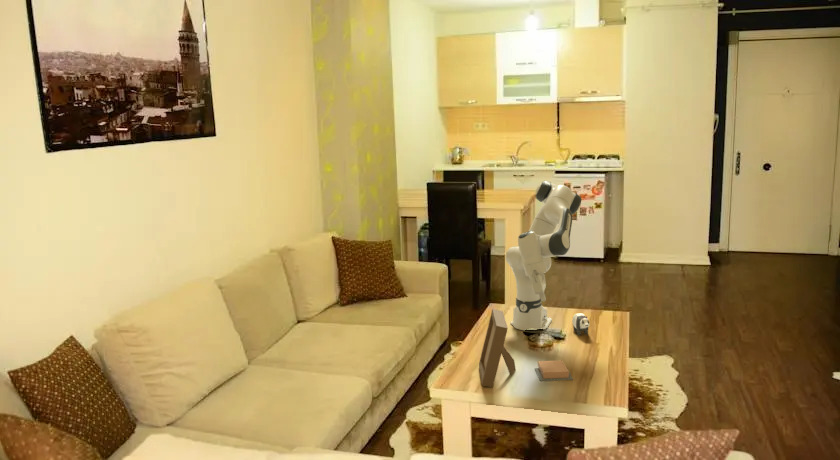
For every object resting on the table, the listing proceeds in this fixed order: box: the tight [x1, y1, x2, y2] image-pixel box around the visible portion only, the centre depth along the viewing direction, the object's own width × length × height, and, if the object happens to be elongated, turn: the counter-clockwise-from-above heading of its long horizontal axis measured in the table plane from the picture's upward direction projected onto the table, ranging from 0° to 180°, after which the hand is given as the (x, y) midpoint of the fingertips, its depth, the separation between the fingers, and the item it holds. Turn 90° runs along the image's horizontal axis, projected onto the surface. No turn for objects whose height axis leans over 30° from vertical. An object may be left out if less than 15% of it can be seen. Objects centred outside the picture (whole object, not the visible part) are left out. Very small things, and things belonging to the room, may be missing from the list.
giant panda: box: [572, 312, 590, 336], centre depth 323 cm, size 15×6×10 cm, turn 4°
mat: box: [534, 366, 574, 382], centre depth 278 cm, size 12×13×1 cm
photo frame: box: [478, 308, 516, 388], centre depth 276 cm, size 15×22×25 cm
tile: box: [537, 359, 570, 379], centre depth 279 cm, size 10×2×12 cm
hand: (543, 301), depth 292 cm, fingers closed
